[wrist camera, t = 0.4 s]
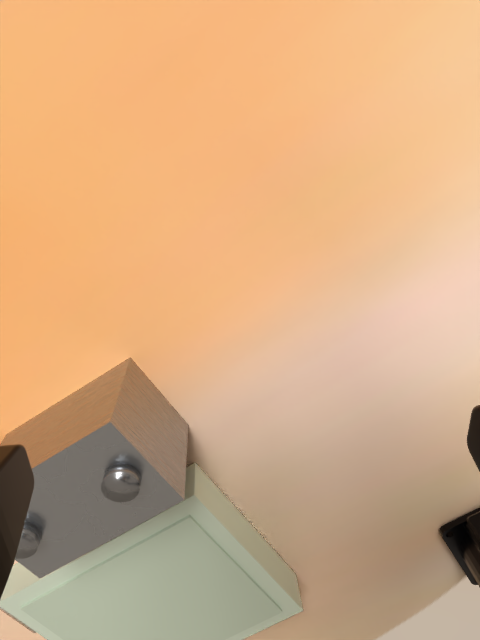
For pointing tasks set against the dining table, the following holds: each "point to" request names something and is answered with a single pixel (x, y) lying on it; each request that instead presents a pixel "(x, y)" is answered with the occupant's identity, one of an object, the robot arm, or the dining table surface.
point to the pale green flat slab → (164, 579)
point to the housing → (99, 466)
